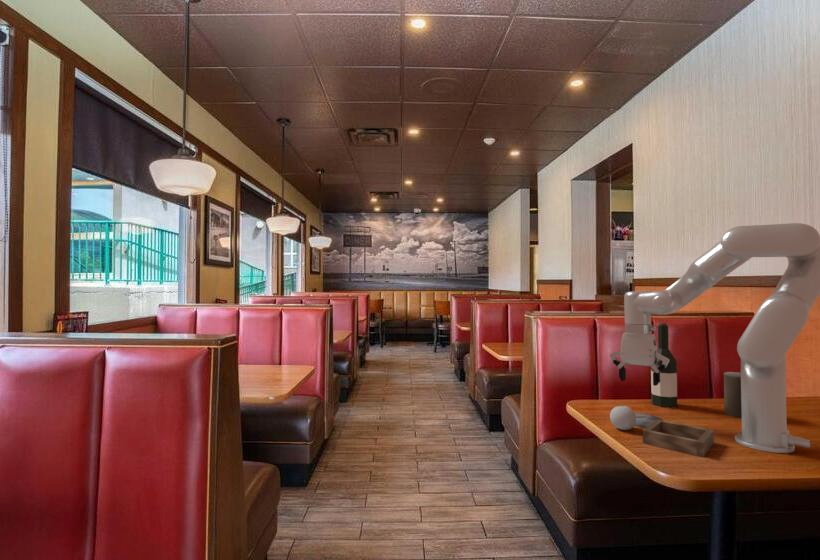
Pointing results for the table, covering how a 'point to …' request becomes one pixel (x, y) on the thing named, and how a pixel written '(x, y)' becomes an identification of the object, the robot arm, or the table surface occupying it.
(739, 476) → the table surface
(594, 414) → the table surface
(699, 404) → the table surface
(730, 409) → the pillar candle
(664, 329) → the wine bottle
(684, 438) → the frame
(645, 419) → the gray round disc
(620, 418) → the eyeball on stick
